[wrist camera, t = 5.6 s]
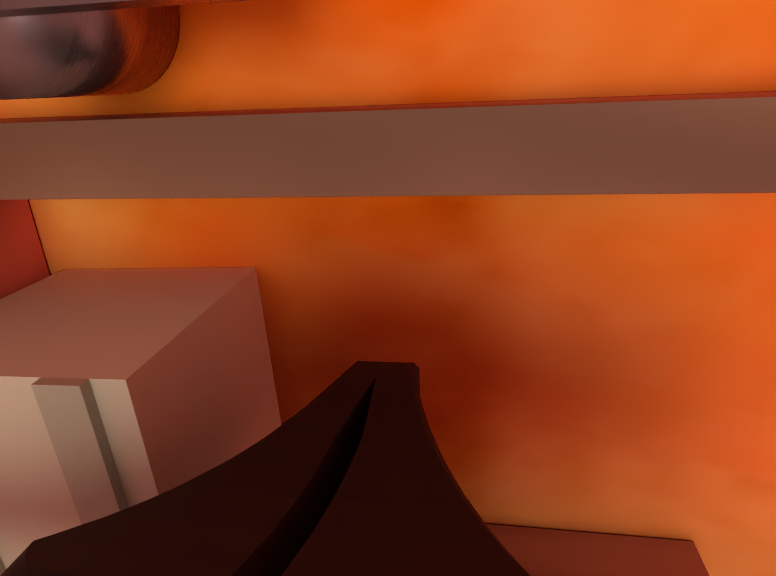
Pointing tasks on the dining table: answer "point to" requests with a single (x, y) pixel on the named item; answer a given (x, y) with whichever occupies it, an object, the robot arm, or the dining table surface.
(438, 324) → the dining table surface
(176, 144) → the bay
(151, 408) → the crate
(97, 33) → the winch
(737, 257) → the dining table surface
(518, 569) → the robot arm
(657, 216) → the dining table surface
